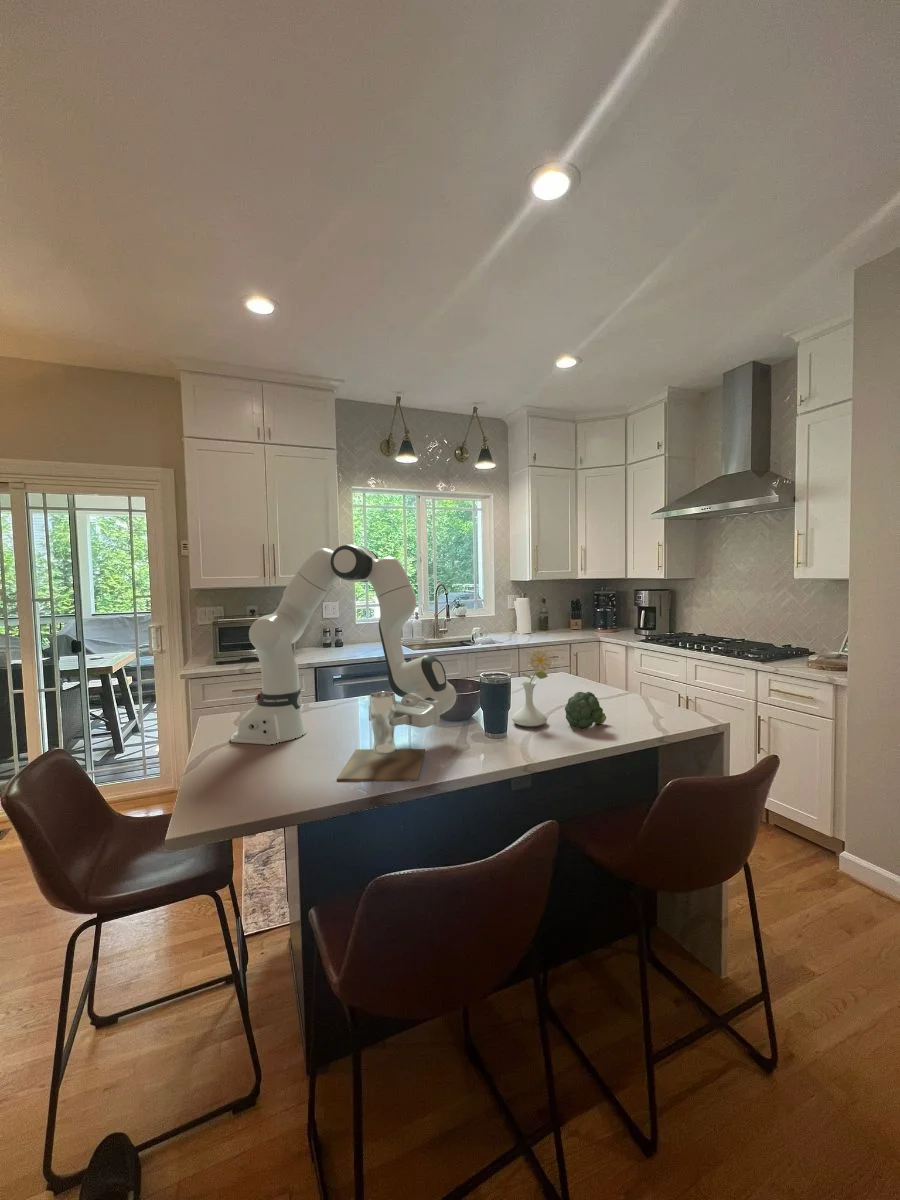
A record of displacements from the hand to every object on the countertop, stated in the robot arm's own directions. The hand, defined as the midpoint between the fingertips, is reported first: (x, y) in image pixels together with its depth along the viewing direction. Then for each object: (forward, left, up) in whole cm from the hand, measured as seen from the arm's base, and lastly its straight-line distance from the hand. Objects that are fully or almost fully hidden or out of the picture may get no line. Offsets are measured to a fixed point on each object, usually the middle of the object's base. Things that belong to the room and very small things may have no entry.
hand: (381, 720), depth 130 cm
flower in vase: (+43, +35, -12) cm, 57 cm away
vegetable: (+60, +32, -12) cm, 69 cm away
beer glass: (+1, +1, -8) cm, 9 cm away
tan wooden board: (0, +1, -12) cm, 12 cm away
